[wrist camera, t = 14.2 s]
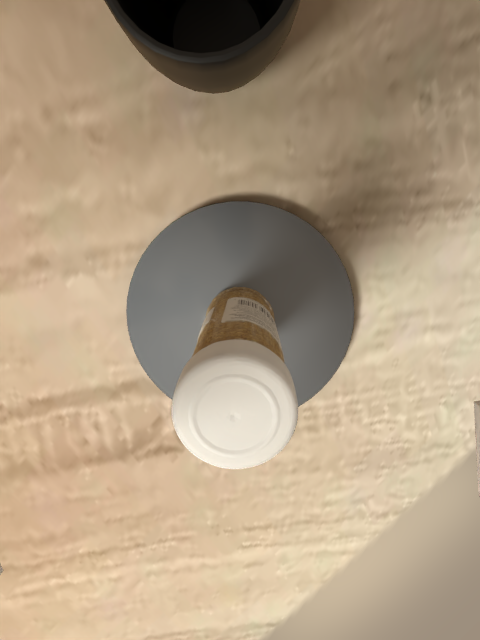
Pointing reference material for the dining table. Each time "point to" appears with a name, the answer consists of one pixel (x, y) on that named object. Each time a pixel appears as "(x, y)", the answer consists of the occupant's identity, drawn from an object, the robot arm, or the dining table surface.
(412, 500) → the dining table surface
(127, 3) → the mug
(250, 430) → the sprinkles bottle
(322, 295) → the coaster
